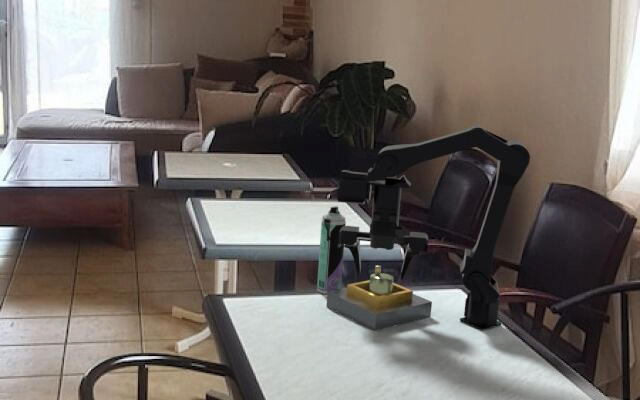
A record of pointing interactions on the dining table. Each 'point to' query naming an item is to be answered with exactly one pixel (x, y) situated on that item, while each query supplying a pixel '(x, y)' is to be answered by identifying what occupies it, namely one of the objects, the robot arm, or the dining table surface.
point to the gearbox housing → (378, 305)
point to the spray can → (330, 252)
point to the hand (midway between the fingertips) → (380, 276)
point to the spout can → (380, 283)
